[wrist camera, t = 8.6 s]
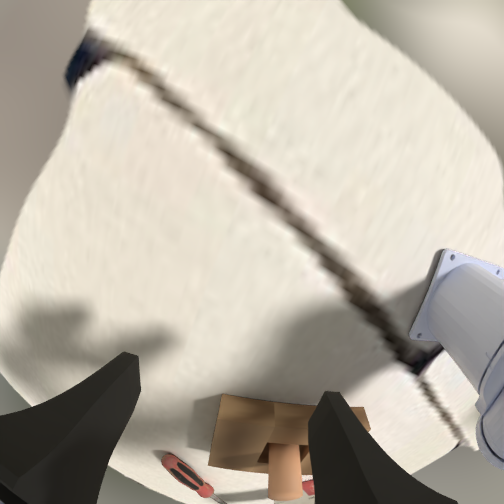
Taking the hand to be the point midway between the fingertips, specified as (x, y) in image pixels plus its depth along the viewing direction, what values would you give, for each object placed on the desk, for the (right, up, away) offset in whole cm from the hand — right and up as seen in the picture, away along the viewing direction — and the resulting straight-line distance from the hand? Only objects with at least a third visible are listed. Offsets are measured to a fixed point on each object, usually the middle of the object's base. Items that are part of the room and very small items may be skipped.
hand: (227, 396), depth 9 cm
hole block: (+4, -13, +14) cm, 20 cm away
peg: (+4, -13, +14) cm, 20 cm away
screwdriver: (-6, -30, +21) cm, 37 cm away
